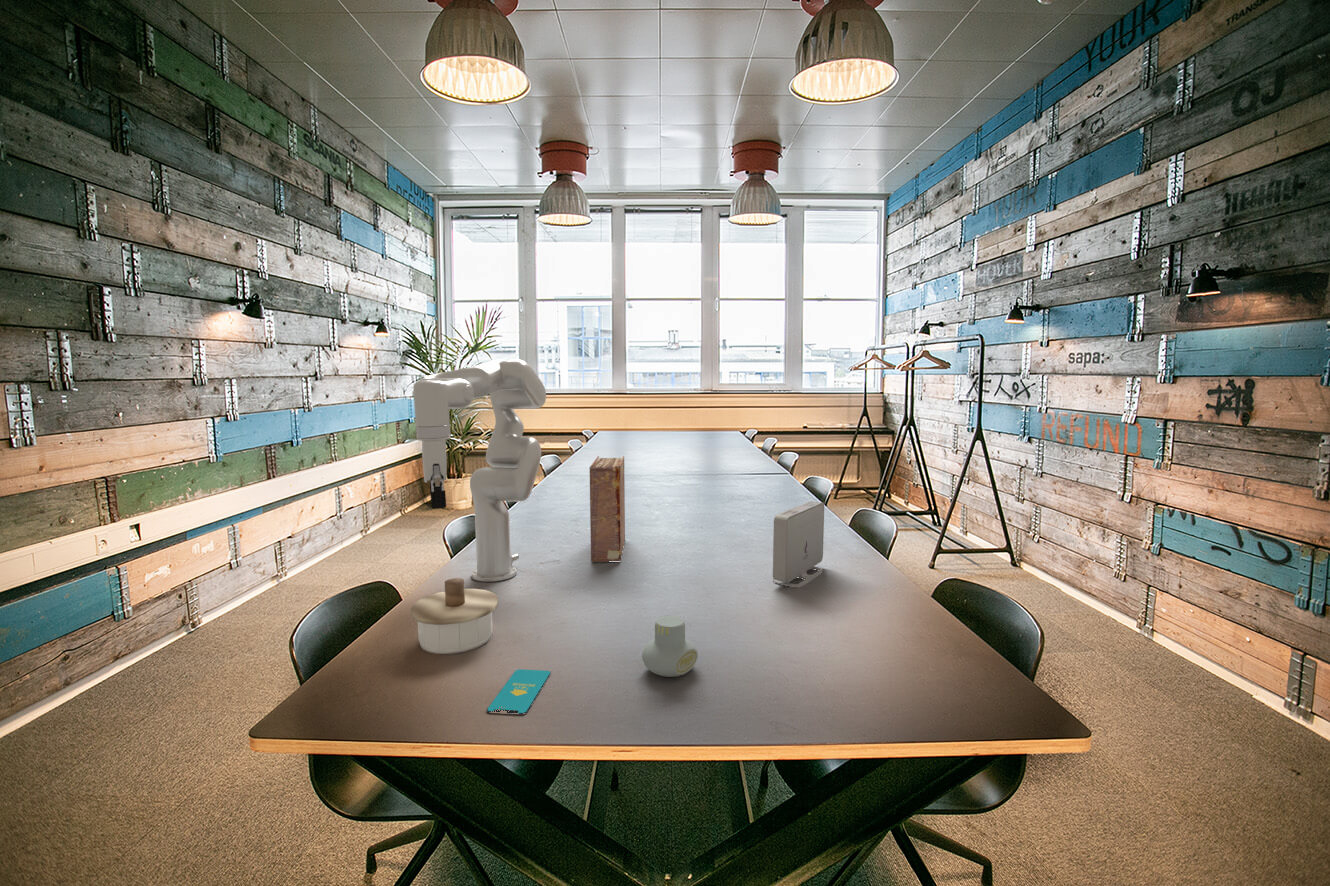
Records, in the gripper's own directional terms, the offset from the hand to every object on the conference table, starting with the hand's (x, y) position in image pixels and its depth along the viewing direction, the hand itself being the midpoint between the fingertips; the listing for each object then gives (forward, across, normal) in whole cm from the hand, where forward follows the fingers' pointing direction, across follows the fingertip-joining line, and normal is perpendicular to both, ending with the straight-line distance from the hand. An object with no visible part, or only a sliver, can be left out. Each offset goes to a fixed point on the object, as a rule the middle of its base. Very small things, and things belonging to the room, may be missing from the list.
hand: (438, 503), depth 143 cm
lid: (+20, +18, +2) cm, 27 cm away
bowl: (+27, +18, +2) cm, 32 cm away
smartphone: (+26, +46, +11) cm, 54 cm away
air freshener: (+27, +49, +40) cm, 69 cm away
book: (+29, -32, +52) cm, 68 cm away
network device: (+29, +13, +95) cm, 100 cm away
